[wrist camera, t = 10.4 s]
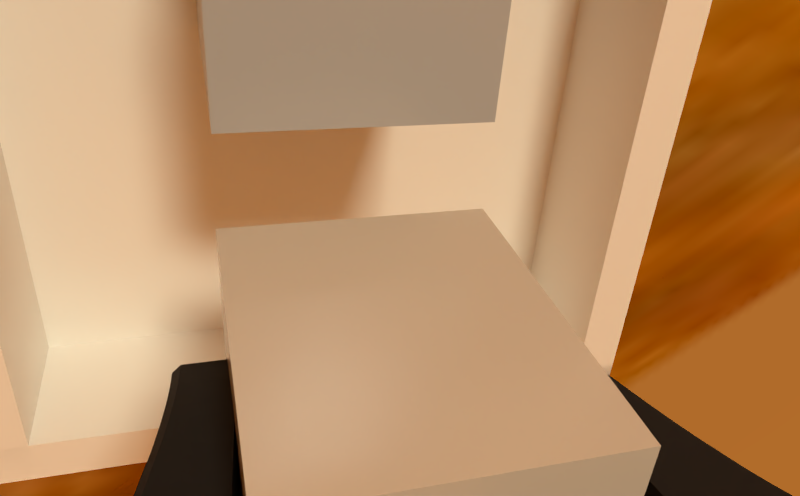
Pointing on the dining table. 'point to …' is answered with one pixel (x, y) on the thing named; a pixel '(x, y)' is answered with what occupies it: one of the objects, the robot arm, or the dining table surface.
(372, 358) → the beige cuboid
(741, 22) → the dining table surface
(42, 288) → the pale wooden open box
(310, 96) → the grey rectangular prism
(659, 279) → the dining table surface
